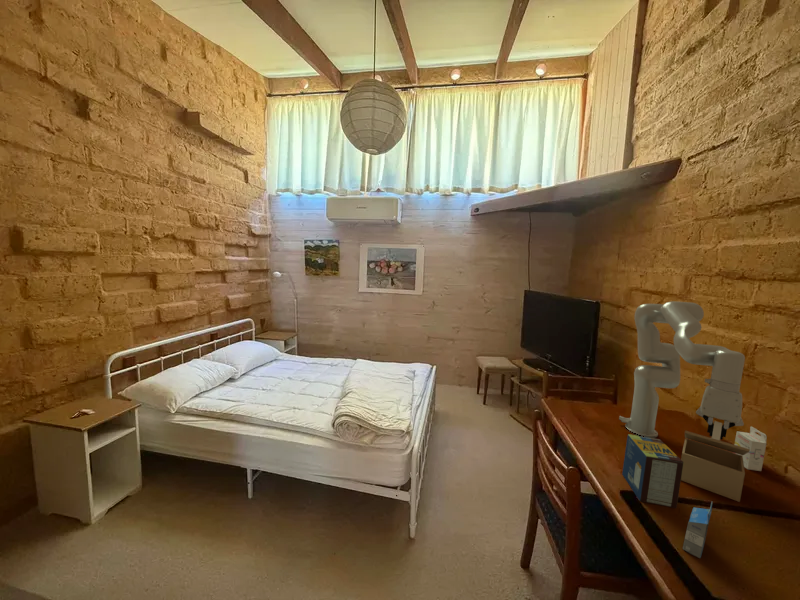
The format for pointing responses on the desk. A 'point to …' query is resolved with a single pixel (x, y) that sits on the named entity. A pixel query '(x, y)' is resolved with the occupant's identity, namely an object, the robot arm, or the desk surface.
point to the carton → (713, 469)
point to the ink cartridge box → (752, 448)
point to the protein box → (652, 470)
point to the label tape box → (697, 531)
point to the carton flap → (716, 440)
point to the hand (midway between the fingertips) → (715, 436)
